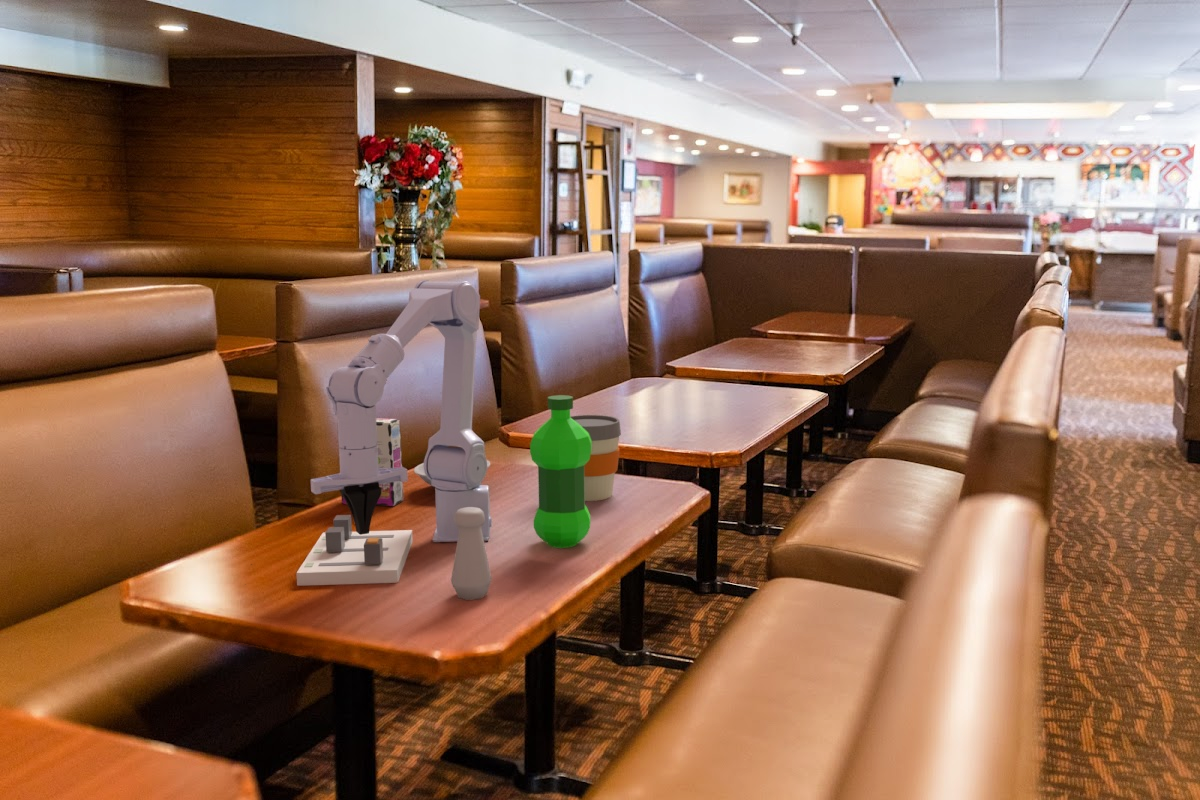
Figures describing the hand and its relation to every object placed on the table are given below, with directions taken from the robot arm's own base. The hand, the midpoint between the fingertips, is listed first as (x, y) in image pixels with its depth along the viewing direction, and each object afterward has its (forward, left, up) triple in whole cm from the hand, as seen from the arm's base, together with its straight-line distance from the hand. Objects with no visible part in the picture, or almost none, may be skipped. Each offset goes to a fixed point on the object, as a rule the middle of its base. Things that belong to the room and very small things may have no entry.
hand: (362, 532), depth 165 cm
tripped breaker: (-1, 0, -5) cm, 5 cm away
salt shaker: (-17, +10, -7) cm, 21 cm away
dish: (-10, -52, -7) cm, 53 cm away
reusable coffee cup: (-37, -45, -7) cm, 59 cm away
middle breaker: (+6, -7, -5) cm, 10 cm away
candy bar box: (+5, -44, -7) cm, 45 cm away
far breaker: (+5, -14, -5) cm, 16 cm away
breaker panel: (+2, -7, -7) cm, 10 cm away
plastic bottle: (-31, -14, -7) cm, 35 cm away
